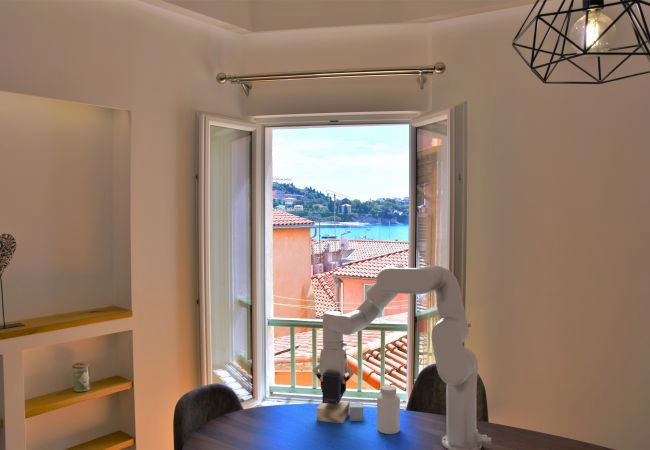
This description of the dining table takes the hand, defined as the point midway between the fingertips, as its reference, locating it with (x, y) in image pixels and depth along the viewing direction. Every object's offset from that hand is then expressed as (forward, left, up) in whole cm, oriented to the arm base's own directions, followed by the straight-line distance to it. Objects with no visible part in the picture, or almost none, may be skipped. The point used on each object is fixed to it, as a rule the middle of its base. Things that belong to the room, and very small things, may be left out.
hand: (333, 391), depth 192 cm
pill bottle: (-22, +6, -10) cm, 25 cm away
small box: (0, 0, -3) cm, 3 cm away
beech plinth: (0, 0, -9) cm, 9 cm away
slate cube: (-9, -1, -10) cm, 13 cm away
